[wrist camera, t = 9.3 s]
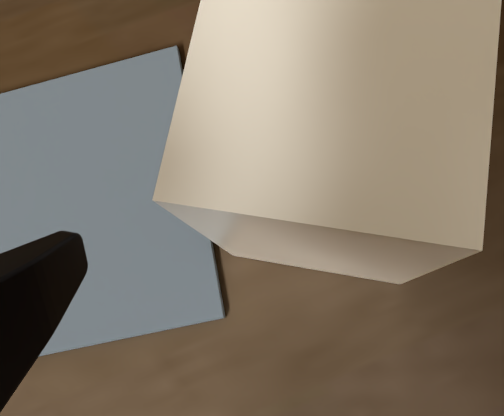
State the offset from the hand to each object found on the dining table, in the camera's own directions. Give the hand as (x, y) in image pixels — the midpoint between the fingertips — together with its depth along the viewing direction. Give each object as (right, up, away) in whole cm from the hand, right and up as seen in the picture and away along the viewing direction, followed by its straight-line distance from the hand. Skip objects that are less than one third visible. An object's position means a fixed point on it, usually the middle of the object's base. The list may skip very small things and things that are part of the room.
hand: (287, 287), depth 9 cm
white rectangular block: (+3, +2, +12) cm, 12 cm away
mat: (-10, +2, +13) cm, 17 cm away
